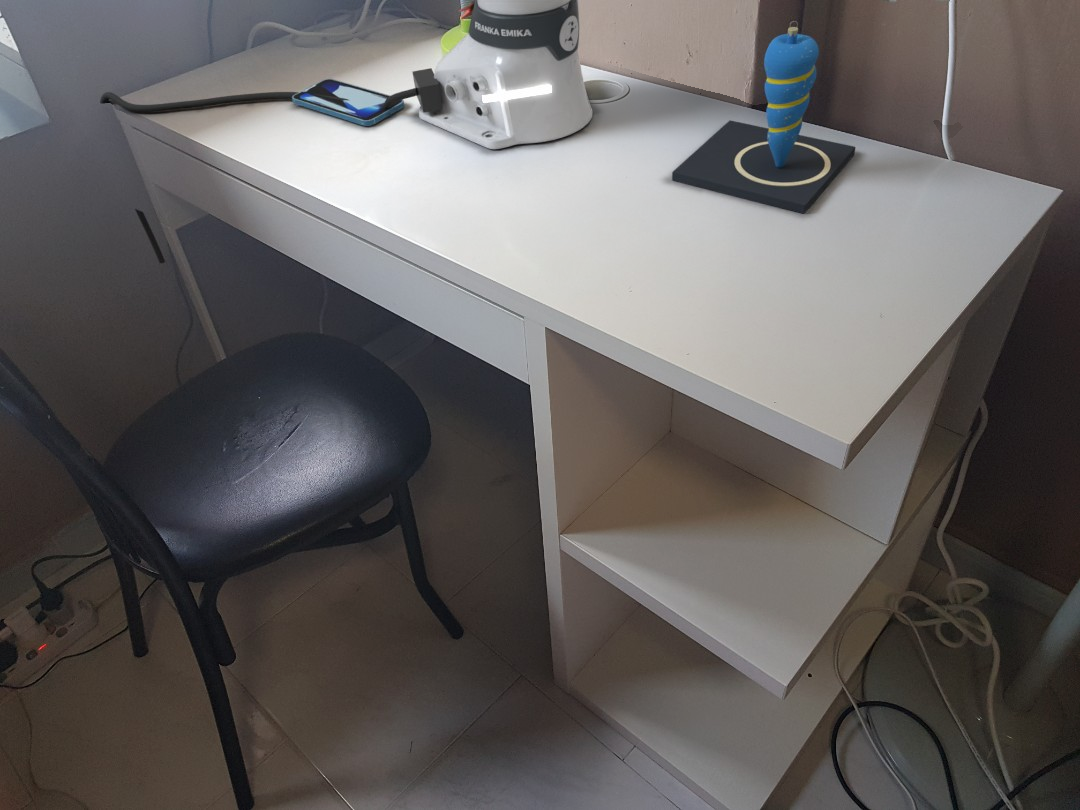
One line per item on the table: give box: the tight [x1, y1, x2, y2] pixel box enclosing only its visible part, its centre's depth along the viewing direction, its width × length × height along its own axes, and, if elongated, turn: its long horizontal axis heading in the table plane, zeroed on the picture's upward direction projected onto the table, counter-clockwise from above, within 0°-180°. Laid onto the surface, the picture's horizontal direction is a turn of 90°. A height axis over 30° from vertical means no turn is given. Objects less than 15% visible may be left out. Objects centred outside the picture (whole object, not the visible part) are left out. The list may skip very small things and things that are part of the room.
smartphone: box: [291, 78, 405, 127], centre depth 112 cm, size 7×1×15 cm
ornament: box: [763, 20, 820, 168], centre depth 84 cm, size 5×5×15 cm
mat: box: [671, 119, 856, 214], centre depth 91 cm, size 15×14×1 cm
